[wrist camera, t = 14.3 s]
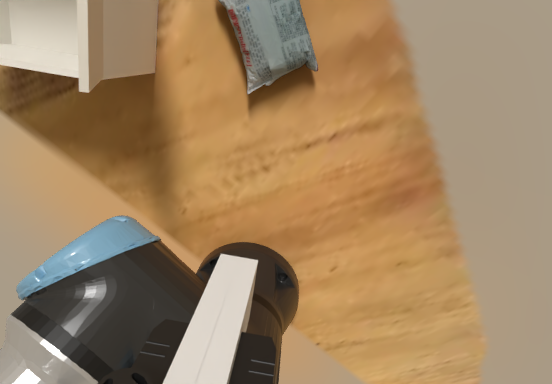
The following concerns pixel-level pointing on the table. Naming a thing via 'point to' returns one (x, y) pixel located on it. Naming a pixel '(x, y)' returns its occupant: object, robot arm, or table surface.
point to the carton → (64, 36)
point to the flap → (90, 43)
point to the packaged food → (270, 38)
